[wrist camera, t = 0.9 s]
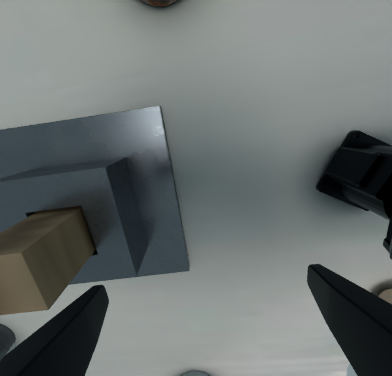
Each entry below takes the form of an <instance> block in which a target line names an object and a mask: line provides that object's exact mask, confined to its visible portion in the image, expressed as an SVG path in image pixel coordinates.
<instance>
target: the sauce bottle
mask: <svg viewBox="0 0 392 376" xmlns="http://www.w3.org/2000/svg"><path fill="white" fill-rule="evenodd" d="M141 1H143V2H145V3H147V4H150V5H152V6H155V7H156V6H160V7H164V6H167V5H170V4H172V3H174V2H175V1H177V0H141Z"/></svg>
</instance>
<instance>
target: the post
mask: <svg viewBox="0 0 392 376" xmlns="http://www.w3.org/2000/svg"><path fill="white" fill-rule="evenodd" d="M95 250H96V247H95V244H94V241H93V238H92V235H91V232H90V229H89V226H88V223H87V220H86V218H85V215H84V212H83V209H82V206H74V207H66V208H58V209H51V210H43V211H38V212H36V213H34V214H33V215H31V216H29V217H27V218H26V219H24V220H22V221H20V222H19V223H17V224H15V225H13V226H11V227H10V228H8V229H6V230H4V231H3V232H1V233H0V315H5V314H14V313H24V312H33V311H42V310H49V309H50V307H51V306H52V305H53V304H54V302H55V301H56V300H57V298H58V297H59V296H60V295H61V293H62V292H63V291H64V290H65V288H66V287H67V286H68V284H69V283H70V282H71V281H72V279H73V278H74V277H75V276H76V274H77V273H78V272H79V270H80V269H81V268H82V267H83V265H84V264H85V263H86V262H87V260H88V259H89V258H90V256H91V255H92V254H93V253H94V251H95Z"/></svg>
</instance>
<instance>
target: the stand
mask: <svg viewBox="0 0 392 376" xmlns="http://www.w3.org/2000/svg"><path fill="white" fill-rule="evenodd" d="M74 206H82V209H83V212H84V215H85V218H86V220H87V223H88V226H89V229H90V232H91V235H92V238H93V241H94V244H95V247H96V250H95V251H94V253H93V254H92V255H91V256H90V258H89V259H88V260H87V262H86V263H85V264H84V265H83V267H82V268H81V269H80V270H79V272H78V273H77V274H76V276H75V277H74V278H73V279H72V281H71V282H70V283H69V284H68V285H70V284H78V283H87V282H96V281H105V280H113V279H122V278H131V277H140V276H148V275H157V274H166V273H175V272H183V271H189V268H190V266H189V260H188V255H187V249H186V244H185V238H184V233H183V227H182V221H181V216H180V210H179V205H178V199H177V194H176V188H175V183H174V177H173V172H172V166H171V161H170V155H169V149H168V144H167V138H166V133H165V127H164V122H163V116H162V111H161V106H155V107H149V108H142V109H136V110H129V111H122V112H116V113H109V114H103V115H96V116H89V117H83V118H76V119H70V120H63V121H56V122H50V123H43V124H37V125H30V126H24V127H17V128H10V129H4V130H0V233H1V232H3V231H4V230H6V229H8V228H10V227H11V226H13V225H15V224H17V223H19V222H20V221H22V220H24V219H26V218H27V217H29V216H31V215H33V214H34V213H36V212H38V211H43V210H51V209H58V208H66V207H74Z"/></svg>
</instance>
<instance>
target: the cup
mask: <svg viewBox="0 0 392 376" xmlns="http://www.w3.org/2000/svg"><path fill="white" fill-rule="evenodd" d="M182 376H209V375H208V374H206V373H204V372H200V371H191V372H187V373H185V374H183V375H182Z"/></svg>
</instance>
